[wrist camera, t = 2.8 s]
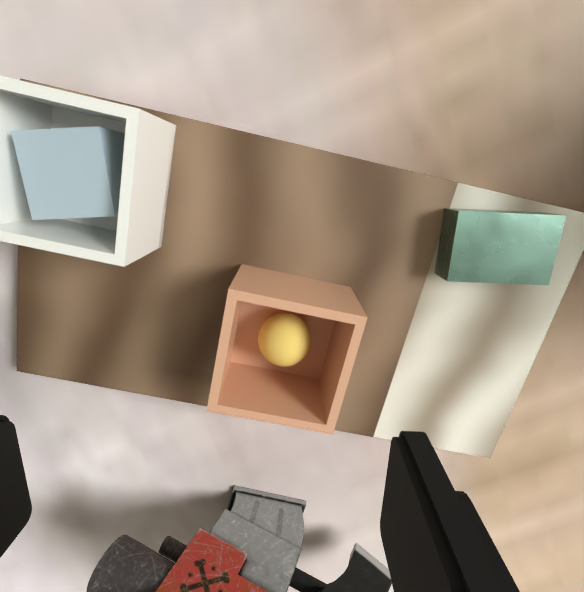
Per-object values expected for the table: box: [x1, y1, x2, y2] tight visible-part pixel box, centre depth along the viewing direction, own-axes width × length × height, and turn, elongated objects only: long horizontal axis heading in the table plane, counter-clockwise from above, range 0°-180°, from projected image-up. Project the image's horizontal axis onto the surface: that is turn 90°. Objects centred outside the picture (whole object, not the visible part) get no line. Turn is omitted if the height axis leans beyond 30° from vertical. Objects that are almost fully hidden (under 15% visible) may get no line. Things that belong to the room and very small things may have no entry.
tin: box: [434, 208, 566, 285], centre depth 23 cm, size 6×4×2 cm, turn 88°
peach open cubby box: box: [207, 264, 368, 434], centre depth 22 cm, size 7×7×6 cm
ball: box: [258, 313, 311, 366], centre depth 23 cm, size 3×3×3 cm
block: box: [11, 126, 125, 220], centre depth 20 cm, size 4×4×4 cm
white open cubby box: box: [0, 76, 176, 267], centre depth 20 cm, size 7×7×6 cm
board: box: [17, 79, 584, 458], centre depth 25 cm, size 34×18×1 cm, turn 78°
